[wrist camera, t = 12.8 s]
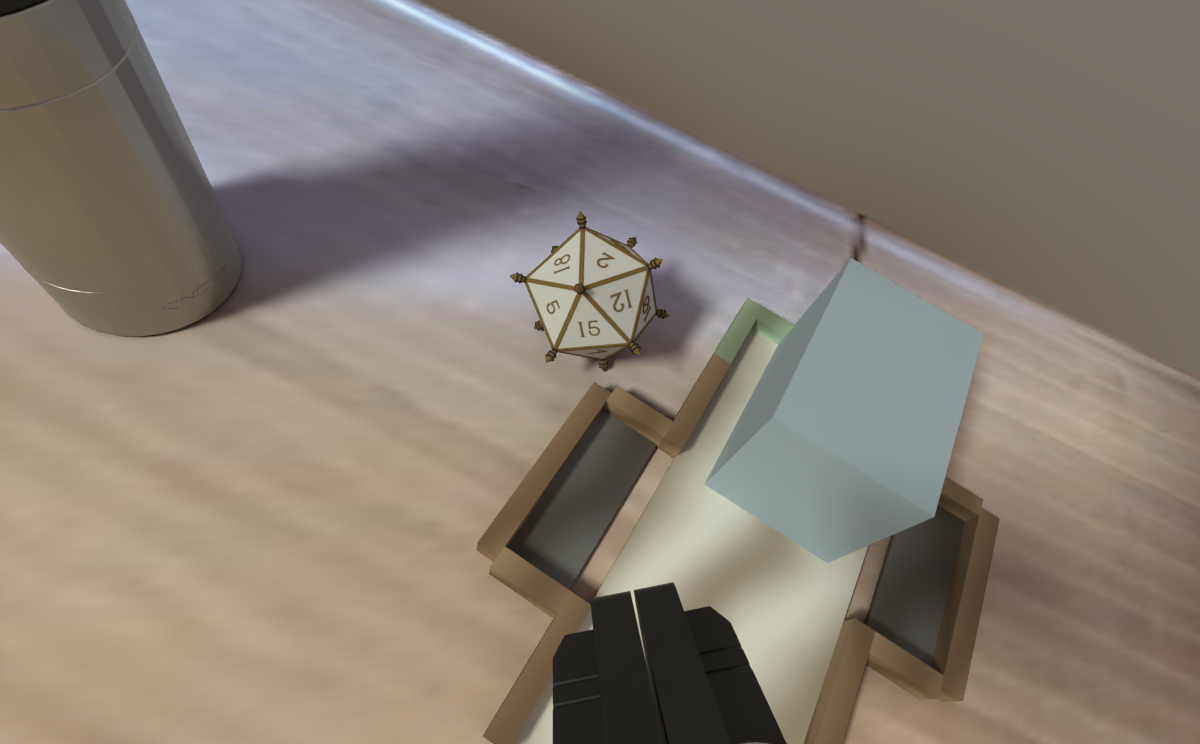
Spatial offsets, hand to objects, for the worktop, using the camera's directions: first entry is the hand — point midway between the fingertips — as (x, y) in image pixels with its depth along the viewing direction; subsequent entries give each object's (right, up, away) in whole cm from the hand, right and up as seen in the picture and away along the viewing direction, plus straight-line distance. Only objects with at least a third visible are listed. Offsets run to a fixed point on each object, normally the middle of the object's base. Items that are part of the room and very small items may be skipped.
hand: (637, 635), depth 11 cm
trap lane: (+7, -6, +23) cm, 25 cm away
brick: (+12, 0, +27) cm, 29 cm away
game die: (-2, +7, +28) cm, 29 cm away
